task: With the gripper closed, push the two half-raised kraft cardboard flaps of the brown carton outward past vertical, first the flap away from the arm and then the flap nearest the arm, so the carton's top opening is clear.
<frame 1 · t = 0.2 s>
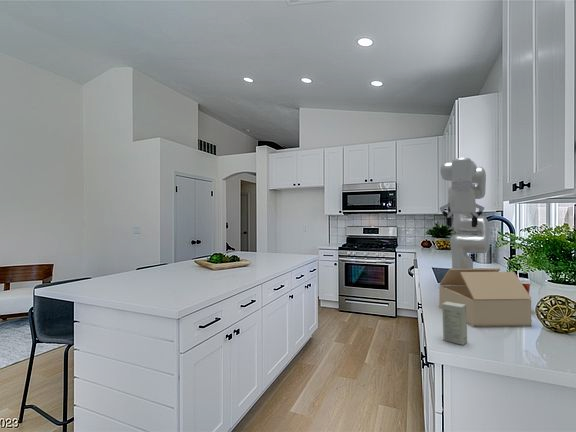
hand: (461, 226, 130), 37 cm above the countertop, tool pointing down, fingers open, 9 cm apart
outer flap: (494, 285, 116), point 14 cm above the countertop, hinge at 45.0°
skincare box: (454, 341, 100), on the countertop
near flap: (468, 277, 132), point 14 cm above the countertop, hinge at 45.0°
carton: (481, 316, 124), on the countertop
paper cup: (519, 311, 131), on the countertop
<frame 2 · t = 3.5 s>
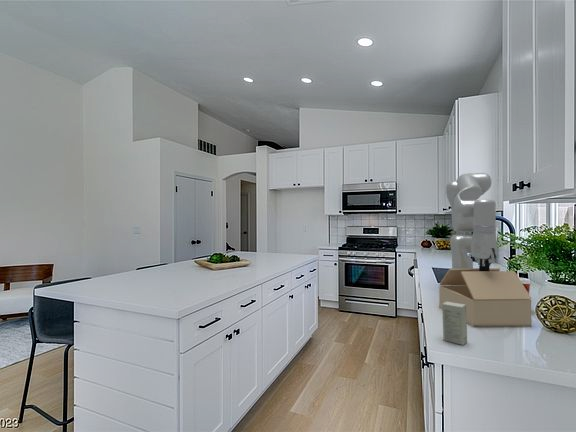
hand: (484, 275, 122), 17 cm above the countertop, tool pointing down, fingers closed
outer flap: (494, 285, 116), point 15 cm above the countertop, hinge at 47.1°, touching gripper
everything else where it was.
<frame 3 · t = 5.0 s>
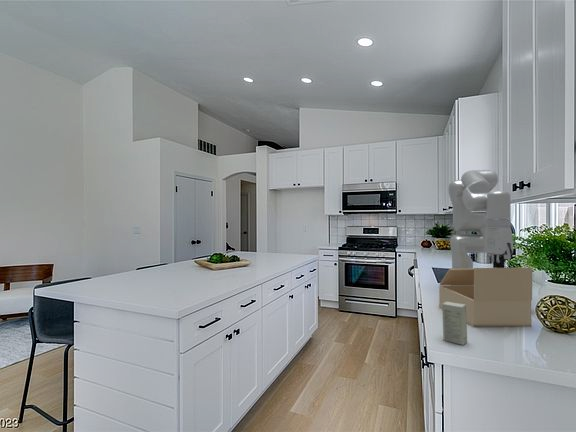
hand: (498, 272, 114), 20 cm above the countertop, tool pointing down, fingers closed
outer flap: (503, 283, 112), point 16 cm above the countertop, hinge at 91.4°, touching gripper
everything else where it was.
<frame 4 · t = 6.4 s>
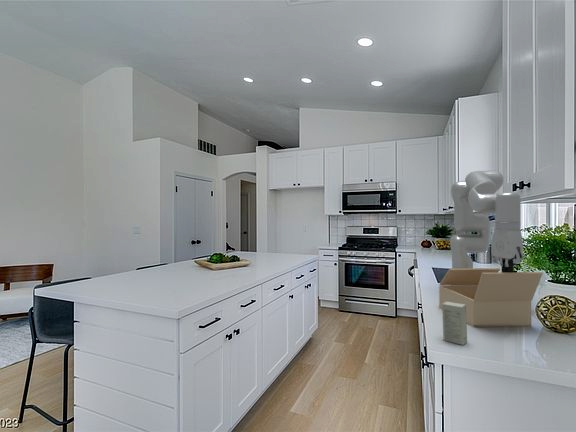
hand: (507, 277, 110), 19 cm above the countertop, tool pointing down, fingers closed
outer flap: (507, 286, 110), point 15 cm above the countertop, hinge at 113.0°, touching gripper
everything else where it was.
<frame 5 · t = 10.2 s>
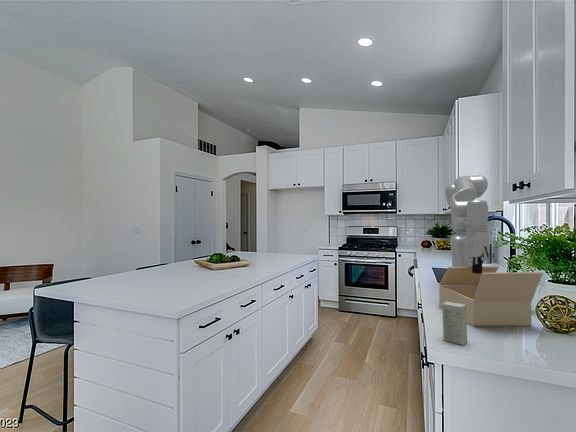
hand: (477, 273, 127), 17 cm above the countertop, tool pointing down, fingers closed
outer flap: (507, 286, 110), point 15 cm above the countertop, hinge at 113.0°
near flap: (468, 276, 133), point 15 cm above the countertop, hinge at 49.9°, touching gripper
everything else where it was.
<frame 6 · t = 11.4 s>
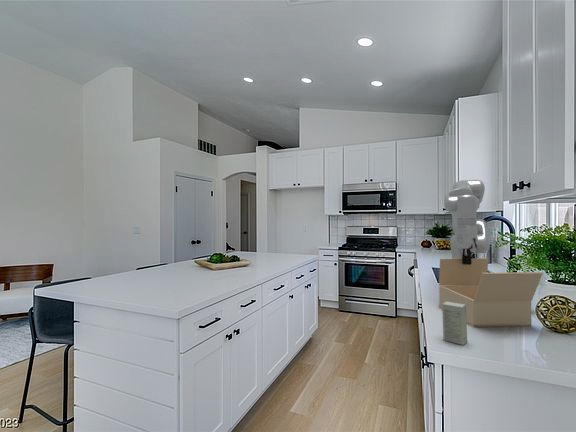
hand: (466, 264, 134), 20 cm above the countertop, tool pointing down, fingers closed
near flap: (463, 271, 136), point 16 cm above the countertop, hinge at 85.7°, touching gripper
everything else where it was.
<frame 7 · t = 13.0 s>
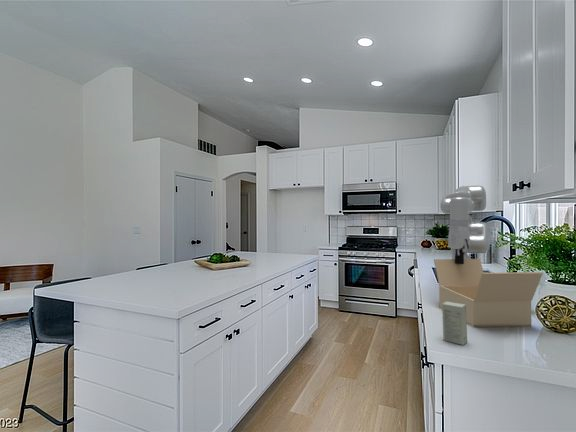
hand: (459, 263, 139), 19 cm above the countertop, tool pointing down, fingers closed
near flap: (459, 272, 139), point 15 cm above the countertop, hinge at 113.1°, touching gripper
everything else where it was.
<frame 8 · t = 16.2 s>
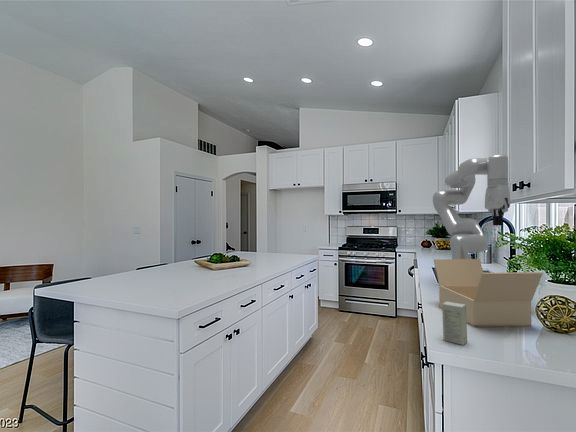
hand: (497, 225, 133), 37 cm above the countertop, tool pointing down, fingers closed
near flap: (459, 272, 139), point 15 cm above the countertop, hinge at 114.0°
everything else where it was.
at the end: outer flap at +113° (first picture: +45°); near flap at +114° (first picture: +45°) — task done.
